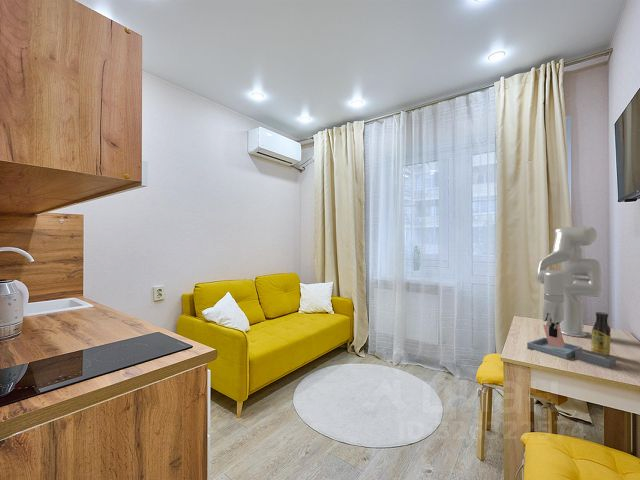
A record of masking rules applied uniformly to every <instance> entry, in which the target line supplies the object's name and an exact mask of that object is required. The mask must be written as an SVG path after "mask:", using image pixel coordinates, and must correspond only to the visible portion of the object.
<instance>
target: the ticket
mask: <svg viewBox="0 0 640 480" xmlns="http://www.w3.org/2000/svg"><path fill="white" fill-rule="evenodd" d="M542 326H543V329H544V332H545V336H546V337H545V338H547V340H548V344H549V346H553V347H565V344H564V343H565V341H564V340H565V339H564V337H563V334H562V333H561V330H560V328H561V326H560V327H559V324H556V329H557V338H556V337H552V336H549V327H548V325H547V323H545V324H542Z"/></svg>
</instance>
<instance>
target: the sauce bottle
mask: <svg viewBox="0 0 640 480" xmlns="http://www.w3.org/2000/svg"><path fill="white" fill-rule="evenodd" d="M608 317H609V313H607V312H603V311H596V312H595V318H596V319H595V322H594V324H593V326H592V328H591V338H590V339H591V342H590V343H591V344H590V346H591V348H590V351H592V352H596V353H599V354H603V355H607V356H610V354H611V332H612V331H611V327H610V326H609V324H608Z"/></svg>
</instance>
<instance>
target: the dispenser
mask: <svg viewBox="0 0 640 480" xmlns="http://www.w3.org/2000/svg"><path fill="white" fill-rule="evenodd" d="M574 360H578V361H582V362H584V363H588V364H592V365H594V366H595V365H596V366H597V367H602V368H604V369H611V368H613V367H615V366H616V365H617V364H616V363H617V358H616V357H615V356H610V355H609V356H607V355H603V354H599V353H596V352H592V351H591V350H588V349H584V348H582V349H581V350H579V351H576V352H575V356H574Z"/></svg>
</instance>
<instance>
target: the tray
mask: <svg viewBox="0 0 640 480" xmlns="http://www.w3.org/2000/svg"><path fill="white" fill-rule="evenodd" d="M564 344H565V347H553V346H549V344H548V340H547V337H545V336H543V337H541V338H538V339H533V340H532V341H528V342H526V345H527V348H526V349H527V350H530V351H537V352H539V353H544V354H547V355H551V356H553V357H556V358H560V359H564V360H568V359H570V358H573V357H575V352H576V351H579V350H581V349H583V347H582V346H580V345H579V346H578V345H575V344H572V343H567V342H564Z"/></svg>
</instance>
